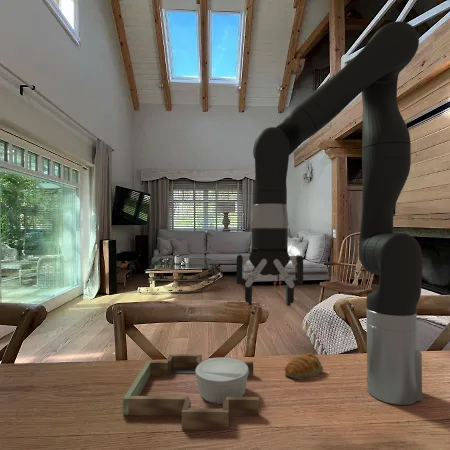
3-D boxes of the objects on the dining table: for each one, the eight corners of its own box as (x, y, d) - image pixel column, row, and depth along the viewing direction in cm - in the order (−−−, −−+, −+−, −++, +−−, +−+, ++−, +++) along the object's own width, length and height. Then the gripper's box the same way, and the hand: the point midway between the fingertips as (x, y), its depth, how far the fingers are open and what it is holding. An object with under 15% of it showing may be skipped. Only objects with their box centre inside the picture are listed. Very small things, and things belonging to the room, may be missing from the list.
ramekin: (205, 413, 60) (205, 384, 60) (189, 386, 71) (188, 361, 71) (258, 400, 64) (258, 374, 64) (235, 377, 75) (235, 354, 75)
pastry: (300, 385, 71) (300, 367, 71) (277, 374, 76) (277, 358, 76) (325, 372, 77) (324, 356, 77) (301, 363, 82) (301, 348, 82)
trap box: (252, 367, 80) (252, 354, 80) (260, 430, 55) (260, 412, 55) (151, 366, 80) (151, 354, 80) (115, 428, 55) (115, 410, 56)
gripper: (300, 227, 71) (299, 301, 71) (235, 226, 72) (234, 300, 72) (307, 226, 64) (307, 310, 64) (235, 226, 64) (234, 308, 64)
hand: (268, 304), depth 68 cm, fingers open, 7 cm apart
